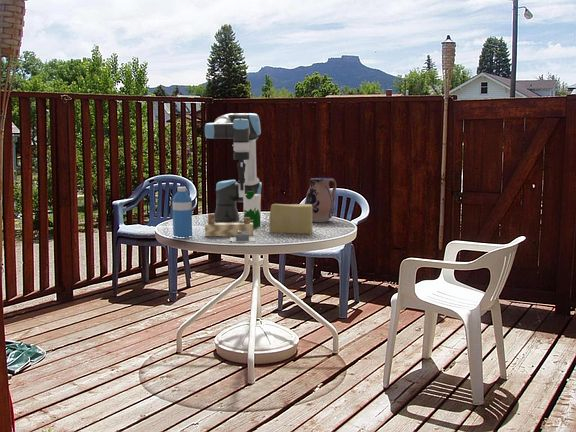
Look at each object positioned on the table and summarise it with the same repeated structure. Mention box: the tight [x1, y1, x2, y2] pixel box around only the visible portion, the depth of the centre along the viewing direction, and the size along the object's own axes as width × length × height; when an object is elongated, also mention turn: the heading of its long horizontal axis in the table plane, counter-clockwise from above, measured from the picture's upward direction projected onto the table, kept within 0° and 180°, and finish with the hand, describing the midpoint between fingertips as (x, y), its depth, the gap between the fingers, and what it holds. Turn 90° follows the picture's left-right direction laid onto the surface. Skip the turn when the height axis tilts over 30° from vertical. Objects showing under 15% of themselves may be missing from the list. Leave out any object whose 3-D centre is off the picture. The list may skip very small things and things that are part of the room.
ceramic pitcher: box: [304, 177, 337, 223], centre depth 365 cm, size 18×21×25 cm
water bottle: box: [172, 186, 193, 237], centre depth 312 cm, size 9×9×25 cm
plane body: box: [204, 213, 254, 237], centre depth 318 cm, size 24×6×11 cm, turn 95°
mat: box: [229, 236, 256, 243], centre depth 306 cm, size 12×12×1 cm
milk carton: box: [242, 191, 262, 229], centre depth 343 cm, size 9×9×20 cm
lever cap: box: [235, 230, 250, 241], centre depth 306 cm, size 6×10×4 cm, turn 5°
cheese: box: [269, 203, 313, 235], centre depth 326 cm, size 22×10×15 cm, turn 84°
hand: (241, 195), depth 304 cm, fingers open, 13 cm apart
